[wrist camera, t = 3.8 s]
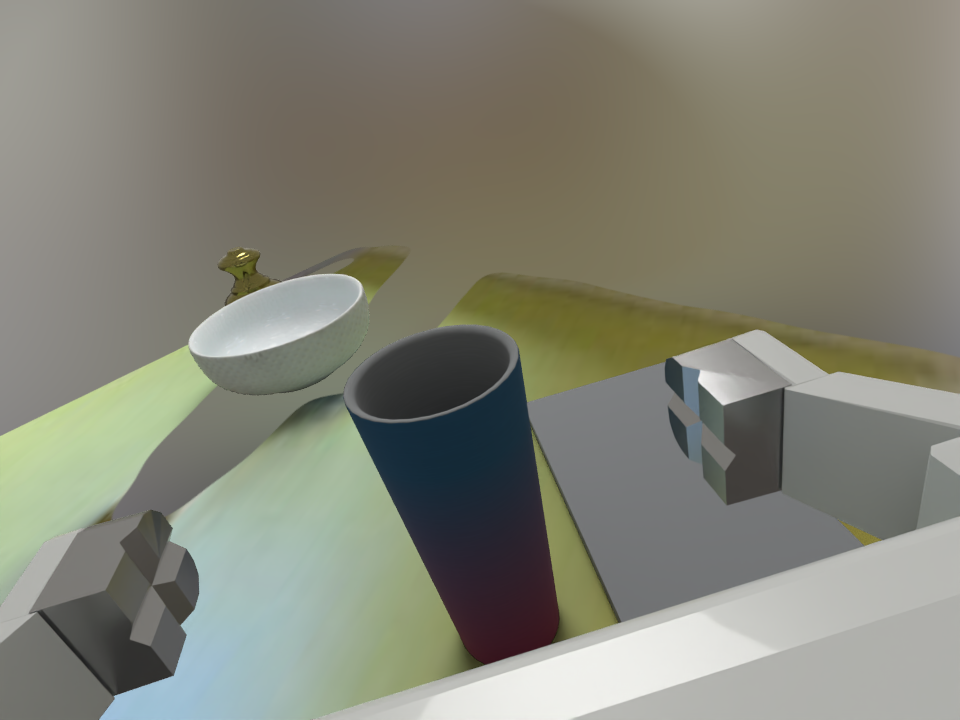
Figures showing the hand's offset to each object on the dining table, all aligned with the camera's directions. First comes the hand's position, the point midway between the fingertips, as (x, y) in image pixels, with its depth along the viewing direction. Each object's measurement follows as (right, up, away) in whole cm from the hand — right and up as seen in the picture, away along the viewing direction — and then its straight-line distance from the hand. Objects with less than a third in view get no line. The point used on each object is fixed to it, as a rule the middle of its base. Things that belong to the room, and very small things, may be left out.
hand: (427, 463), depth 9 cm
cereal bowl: (-17, 0, +50) cm, 53 cm away
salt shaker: (-25, +6, +64) cm, 69 cm away
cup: (+2, -12, +20) cm, 23 cm away
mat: (+12, -5, +27) cm, 30 cm away
